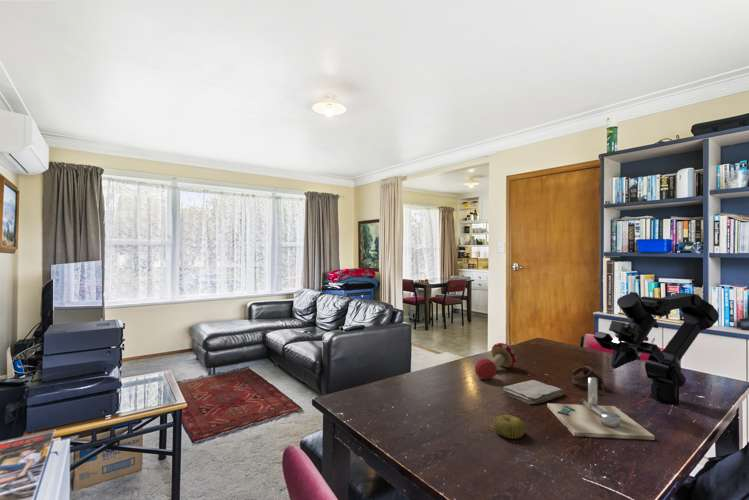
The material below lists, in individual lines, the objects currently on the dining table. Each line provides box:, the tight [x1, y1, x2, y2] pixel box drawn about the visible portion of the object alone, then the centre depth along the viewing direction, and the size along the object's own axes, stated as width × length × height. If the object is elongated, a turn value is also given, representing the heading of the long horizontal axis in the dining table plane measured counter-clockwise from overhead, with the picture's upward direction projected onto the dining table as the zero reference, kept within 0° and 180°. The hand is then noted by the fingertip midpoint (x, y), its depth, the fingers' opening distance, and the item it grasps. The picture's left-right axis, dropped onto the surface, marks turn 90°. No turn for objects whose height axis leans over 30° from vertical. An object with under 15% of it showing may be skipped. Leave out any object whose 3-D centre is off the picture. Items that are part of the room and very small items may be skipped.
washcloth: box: [502, 379, 565, 405], centre depth 123 cm, size 12×18×3 cm, turn 121°
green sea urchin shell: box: [493, 414, 526, 440], centre depth 96 cm, size 8×4×8 cm
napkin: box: [546, 403, 656, 441], centre depth 103 cm, size 20×18×1 cm
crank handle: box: [583, 377, 620, 428], centre depth 104 cm, size 14×4×10 cm, turn 0°
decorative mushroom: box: [490, 342, 517, 370], centre depth 149 cm, size 11×11×15 cm
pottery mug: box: [571, 365, 606, 392], centre depth 131 cm, size 12×10×8 cm
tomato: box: [474, 358, 498, 381], centre depth 137 cm, size 8×8×8 cm
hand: (613, 367), depth 110 cm, fingers closed
